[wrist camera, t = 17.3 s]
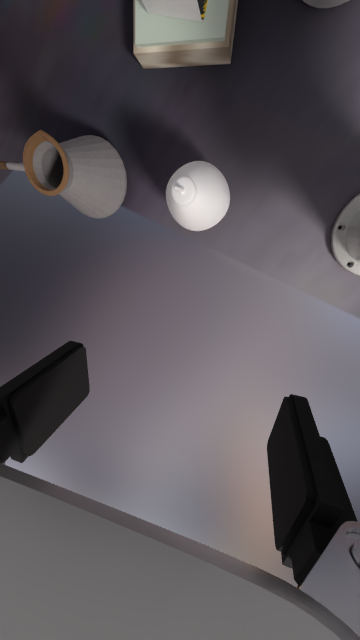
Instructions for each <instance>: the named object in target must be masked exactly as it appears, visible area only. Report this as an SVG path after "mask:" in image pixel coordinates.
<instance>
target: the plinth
mask: <svg viewBox="0 0 360 640" xmlns="http://www.w3.org/2000/svg"><path fill="white" fill-rule="evenodd" d="M237 6H238V0H208V3H207V8H206V13H205V17H204V20H203V21H202V22H197V21H192V20H186V19H180V18H174V17H169V16H163V15H157V14H152V13H148V12H147V11H146V8H145V6H144V4H143V2H142V0H133V21H134V55H135V57H136V58H137V59H138V61H139V62H140V64H141V65H142V67H143V68H144V69H149V68H167V67H184V66H201V65H218V64H230V63H231V55H232V47H233V38H234V30H235V22H236V14H237Z"/></svg>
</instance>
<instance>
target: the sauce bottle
mask: <svg viewBox="0 0 360 640" xmlns="http://www.w3.org/2000/svg"><path fill="white" fill-rule="evenodd" d="M166 201H167V205H168V208H169V210H170V212H171V214H172V216H173V217H174V219H175V220H176V221H177V222H178V223H179V224H180V225H181V226H183V227H184V228H186V229H189V230H192V231H202V230H206V229H209V228H211V227H212V226H214V225H216V224H217V223H218V222H219V221H220V220H221V219H222V218H223V217H224V215H225V214H226V212H227V210H228V207H229V203H230V192H229V187H228V184H227V182H226V179H225V178H224V176H223V175H222V173H221V172H220V171H219V170H218V169H217V168H216V167H215V166H213V165H212V164H210V163H208V162H205V161H193V162H189V163H187V164H185V165H183V166H182V167H180V168H179V169H178V170H177V171H176V172H175V173H174V174H173V175H172V177H171V178H170V180H169V182H168V184H167V188H166Z"/></svg>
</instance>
